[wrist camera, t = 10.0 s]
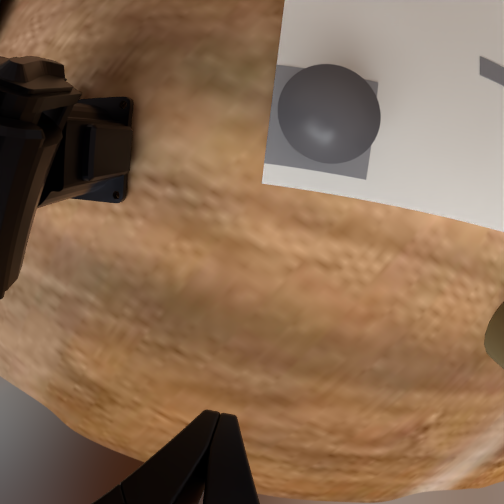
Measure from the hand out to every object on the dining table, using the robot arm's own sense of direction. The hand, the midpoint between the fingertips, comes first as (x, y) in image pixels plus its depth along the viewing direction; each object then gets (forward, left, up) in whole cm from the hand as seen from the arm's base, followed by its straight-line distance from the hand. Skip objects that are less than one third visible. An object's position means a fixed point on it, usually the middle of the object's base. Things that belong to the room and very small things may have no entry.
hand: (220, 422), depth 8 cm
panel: (+9, +14, -12) cm, 21 cm away
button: (+2, +8, -10) cm, 13 cm away
